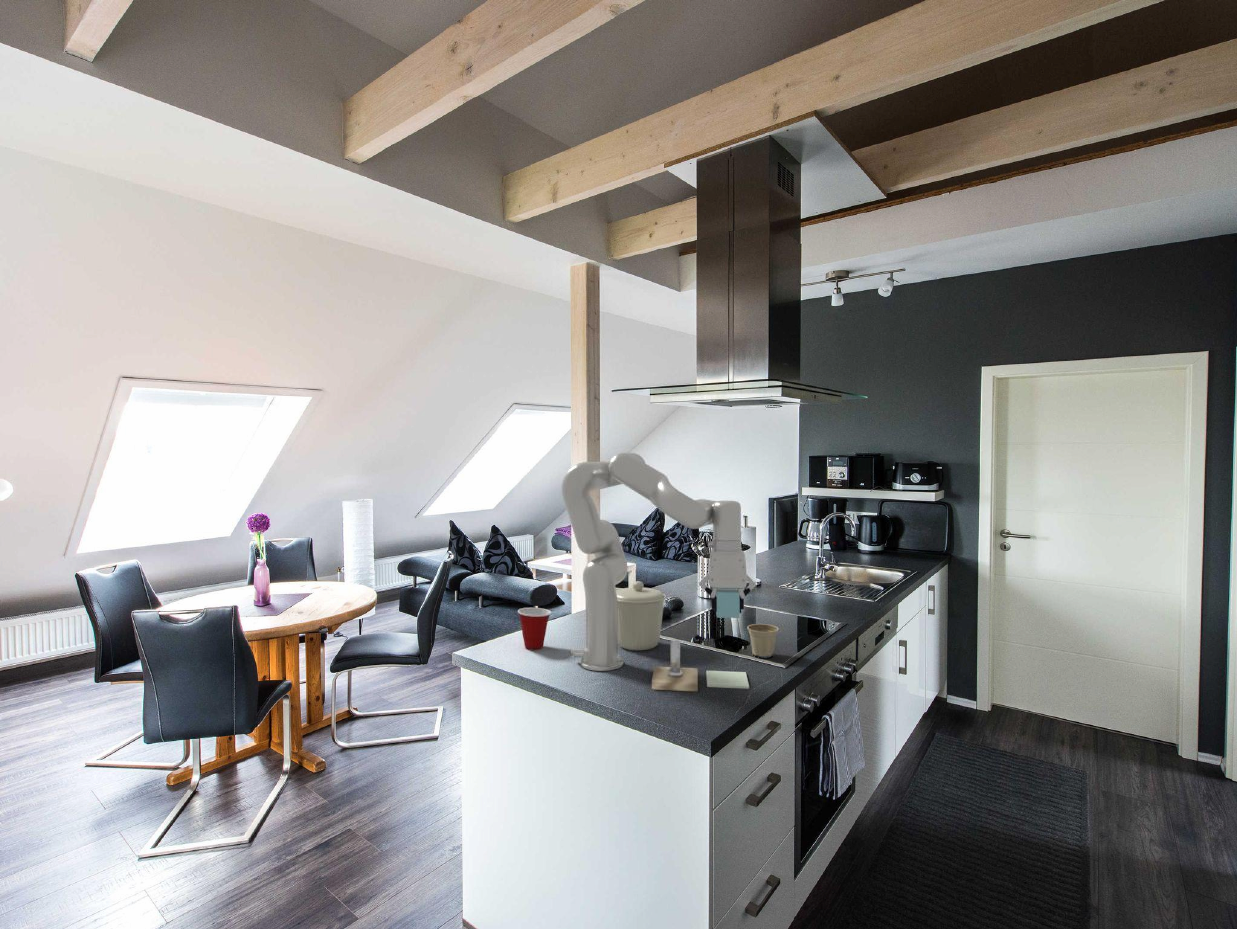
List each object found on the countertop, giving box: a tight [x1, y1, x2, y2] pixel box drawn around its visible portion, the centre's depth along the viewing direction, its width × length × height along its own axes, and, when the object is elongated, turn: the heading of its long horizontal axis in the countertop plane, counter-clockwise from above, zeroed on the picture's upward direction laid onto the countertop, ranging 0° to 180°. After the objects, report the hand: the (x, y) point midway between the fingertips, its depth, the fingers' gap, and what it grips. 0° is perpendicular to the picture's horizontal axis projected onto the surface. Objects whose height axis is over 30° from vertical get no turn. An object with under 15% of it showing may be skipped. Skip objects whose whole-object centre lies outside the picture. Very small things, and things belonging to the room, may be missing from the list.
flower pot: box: [746, 623, 779, 656], centre depth 192 cm, size 9×9×9 cm
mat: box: [705, 670, 750, 690], centre depth 171 cm, size 11×11×1 cm
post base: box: [651, 666, 699, 692], centre depth 170 cm, size 12×12×2 cm
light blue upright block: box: [715, 589, 741, 619], centre depth 171 cm, size 6×6×7 cm
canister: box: [616, 580, 667, 652], centre depth 202 cm, size 18×18×21 cm
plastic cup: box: [517, 607, 552, 650], centre depth 201 cm, size 11×11×12 cm
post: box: [668, 639, 683, 677], centre depth 170 cm, size 4×4×9 cm
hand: (727, 611), depth 171 cm, fingers closed on light blue upright block, 5 cm apart
